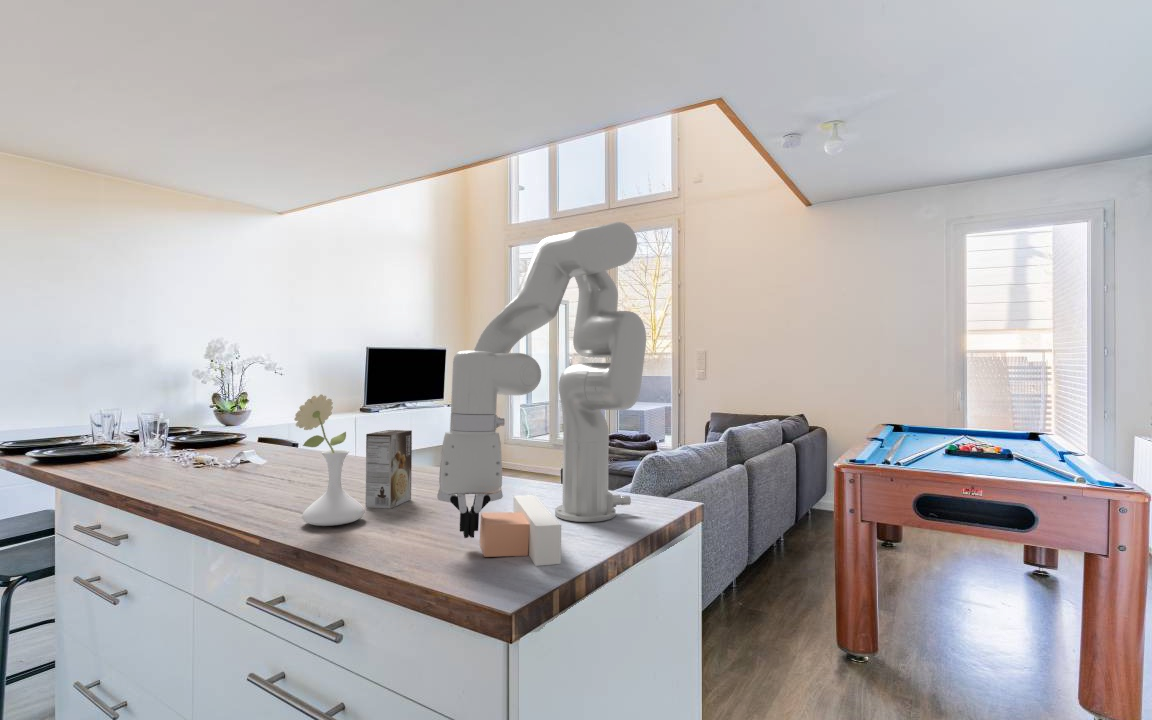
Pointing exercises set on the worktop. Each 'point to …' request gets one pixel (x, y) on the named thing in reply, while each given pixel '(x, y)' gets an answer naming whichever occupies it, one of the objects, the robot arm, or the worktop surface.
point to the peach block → (504, 534)
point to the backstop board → (540, 530)
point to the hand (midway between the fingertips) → (468, 535)
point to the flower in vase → (334, 502)
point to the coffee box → (388, 468)
